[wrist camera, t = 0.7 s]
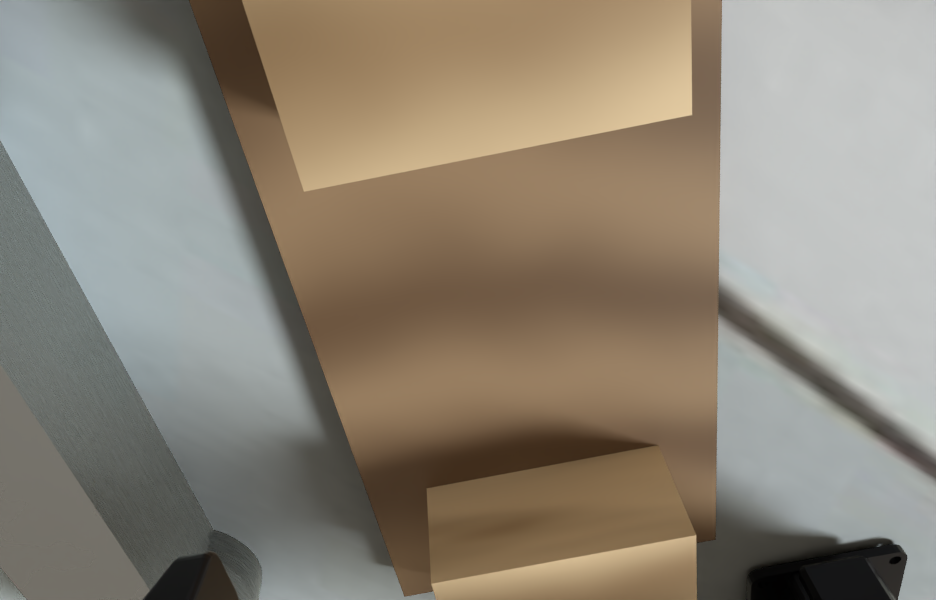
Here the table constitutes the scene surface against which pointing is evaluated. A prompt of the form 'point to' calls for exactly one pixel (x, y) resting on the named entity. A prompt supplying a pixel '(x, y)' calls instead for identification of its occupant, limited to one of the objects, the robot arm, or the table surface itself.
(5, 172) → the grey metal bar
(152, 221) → the table surface
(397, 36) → the rack
